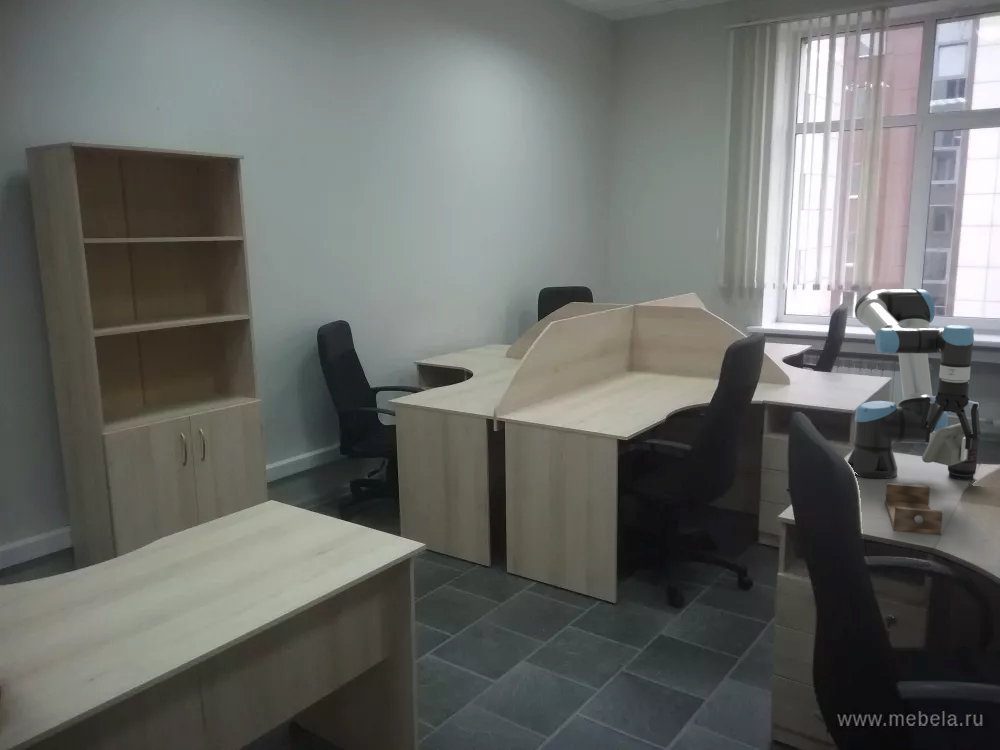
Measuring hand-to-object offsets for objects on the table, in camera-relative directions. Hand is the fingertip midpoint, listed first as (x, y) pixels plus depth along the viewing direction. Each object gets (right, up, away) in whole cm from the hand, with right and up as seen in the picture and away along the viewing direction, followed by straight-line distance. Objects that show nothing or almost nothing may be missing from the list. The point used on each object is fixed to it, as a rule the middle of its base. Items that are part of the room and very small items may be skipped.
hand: (947, 456), depth 223 cm
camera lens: (+18, -9, +23) cm, 31 cm away
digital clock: (0, -1, +1) cm, 2 cm away
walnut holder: (-16, -16, -10) cm, 24 cm away
